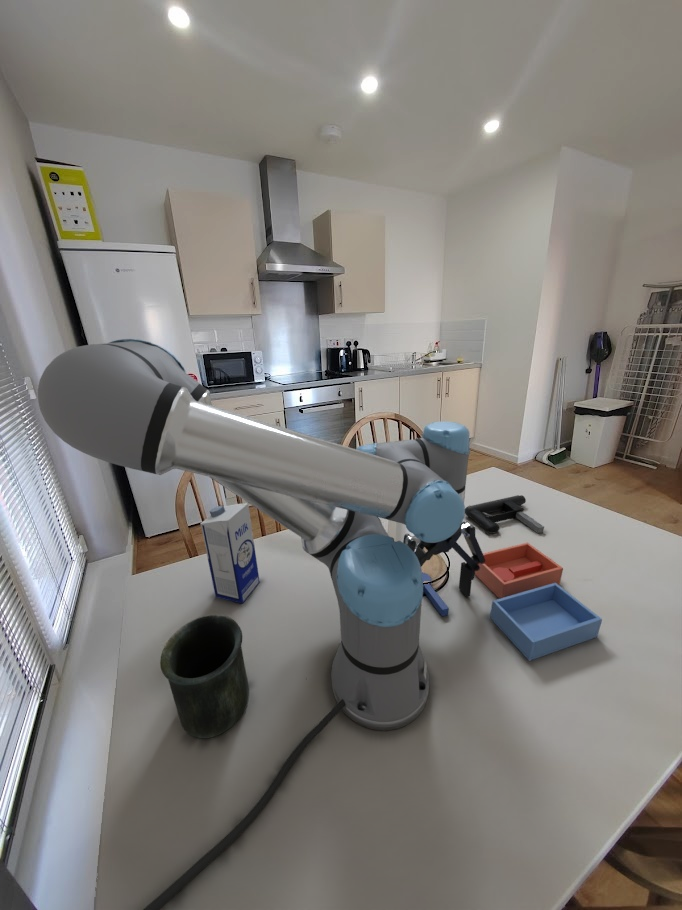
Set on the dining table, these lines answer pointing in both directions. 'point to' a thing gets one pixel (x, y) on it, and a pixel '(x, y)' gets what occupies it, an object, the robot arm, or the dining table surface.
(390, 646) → the robot arm
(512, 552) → the red bin
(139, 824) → the dining table surface
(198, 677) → the dark green pot
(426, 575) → the blue spoon
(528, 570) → the red spoon
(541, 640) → the blue bin
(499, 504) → the door handle
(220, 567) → the milk carton
